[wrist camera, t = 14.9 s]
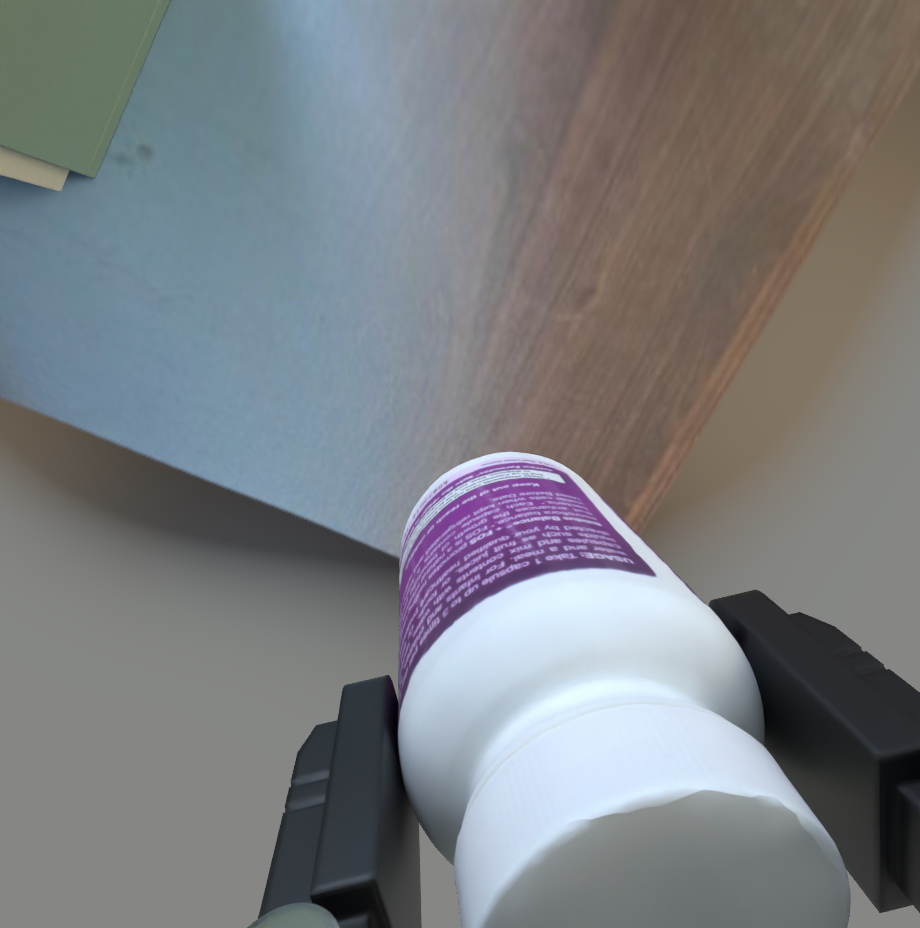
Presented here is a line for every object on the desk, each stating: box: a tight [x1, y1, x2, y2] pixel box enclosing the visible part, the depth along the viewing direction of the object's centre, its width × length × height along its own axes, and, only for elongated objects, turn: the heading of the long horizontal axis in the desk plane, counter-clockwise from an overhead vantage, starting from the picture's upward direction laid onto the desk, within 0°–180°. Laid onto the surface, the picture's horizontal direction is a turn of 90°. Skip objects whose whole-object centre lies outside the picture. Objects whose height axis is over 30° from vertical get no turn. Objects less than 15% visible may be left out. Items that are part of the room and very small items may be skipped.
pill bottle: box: [398, 452, 850, 928], centre depth 10 cm, size 5×5×10 cm
